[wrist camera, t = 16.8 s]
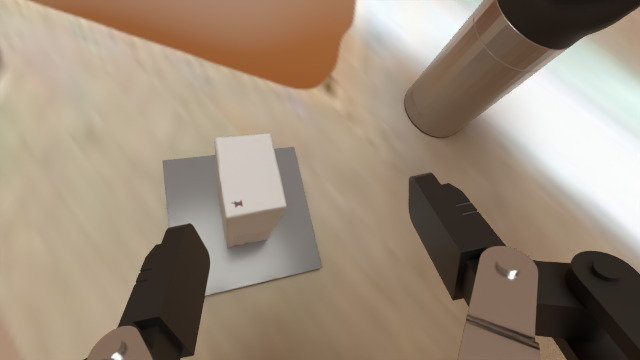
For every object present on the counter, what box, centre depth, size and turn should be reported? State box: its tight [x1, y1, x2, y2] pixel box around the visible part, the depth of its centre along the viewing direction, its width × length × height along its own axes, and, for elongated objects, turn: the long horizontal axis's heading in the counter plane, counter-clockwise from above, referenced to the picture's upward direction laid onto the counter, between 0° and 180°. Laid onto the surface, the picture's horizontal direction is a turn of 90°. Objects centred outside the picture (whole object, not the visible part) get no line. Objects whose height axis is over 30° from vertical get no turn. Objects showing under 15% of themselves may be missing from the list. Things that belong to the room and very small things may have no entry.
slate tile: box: [163, 147, 322, 296], centre depth 33 cm, size 14×14×1 cm
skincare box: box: [215, 133, 286, 247], centre depth 27 cm, size 6×4×12 cm
